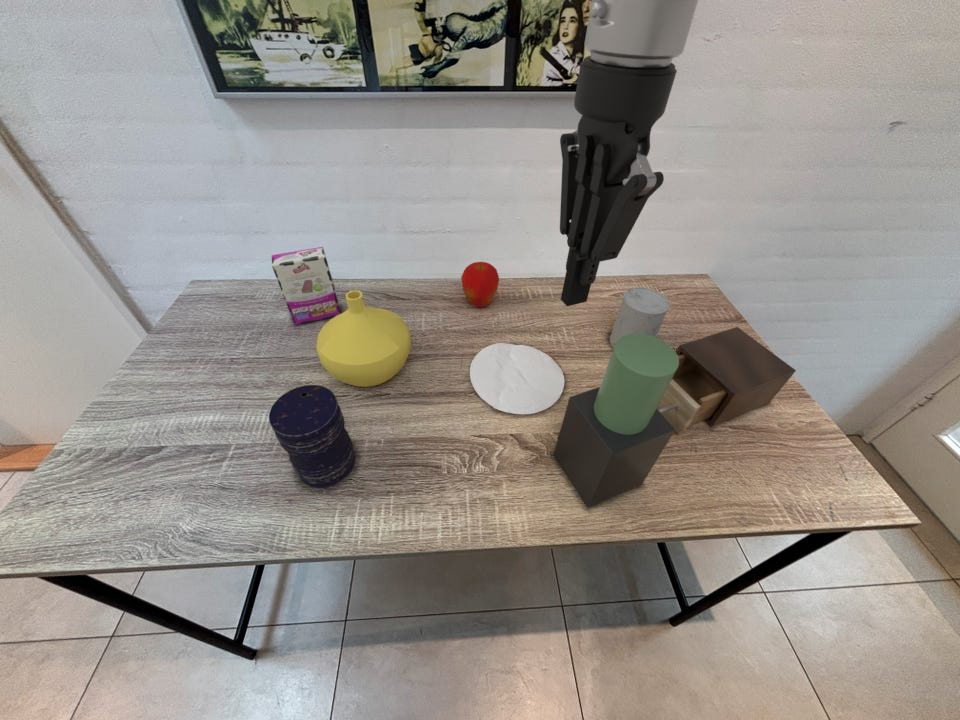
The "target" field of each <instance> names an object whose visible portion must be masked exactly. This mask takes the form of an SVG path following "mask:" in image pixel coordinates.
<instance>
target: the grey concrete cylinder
mask: <svg viewBox="0 0 960 720" xmlns="http://www.w3.org/2000/svg"><path fill="white" fill-rule="evenodd" d="M670 303H671V302H670V301H669V299H668V297H666V295H664V294H663V293H661V292H660V291H658V290H656V289H652V288H649V287H643V286H642V287H641V286H639V287H638V286H637V287H632V288H629V289H627V290H626V291H625V292H624V294H623V297H622V300H621V303H620V306H619V309H618V313H617V315H616V319H615V321H614V325H613V328H612V331H611V334H610V335H609V344H610V346H611V347H612V348H613V349H614V346H615V343H616V342H617V341H618V339H620V338H621V337H623V336H625V335H629V334H646V335H650V336H653V337H656V338H657V336H658V334H659V332H660V329H661V326H662V324H663V321H664V320H665V317H666V315H667V313H668V311H669V309H670V306H671V304H670Z"/></svg>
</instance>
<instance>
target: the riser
mask: <svg viewBox="0 0 960 720" xmlns="http://www.w3.org/2000/svg"><path fill="white" fill-rule="evenodd" d="M599 389H600V386H598V387H595V388H593V389H590V390H586V391H583V392H580V393H577V394H573V395H571V396H569V398H568V401H567V403H566V404H567V405H566V407H565V408H566V409H565V411H564V416H563V419H562V423H561V426H560V430H559V433H558V437H557V441H556V443H555V444H556V445H555V448H554V451H553V456H554V459H556V461H557V463H558V464H559V466H560V467H561V469H562V470H563V472H564V474H565V475H566V476H567V478H568V480H569V482H570V483H571V485H573V487H574V489H575V491H576V492H577V494H578V495H579V497H580V498H581V501H583V503H584V505H585V507H586V508H587V509H590V508H592V507H594V506H595V507H596V506H597V505H599V504H602V503H604V502H606V501H608V500H611V499H613V498H615V497H618V496H619V495H622V494H625V493H626V492H629V491H631V490H633V489H636V488H638V487H640V486H642V485H643V483H644V482H645V480H646V478H647V477H648V475H649V474H650V472H651V470H652V469H653V467H654V466H655V464H656V462H657V460H658V459H659V457H660V456H661V454H662V452H664V449H665V448H666V446H667V444H668V443H669V441H670V440H671V438H672V436H673V435H674V433H675V432H676V431H675V428H674V427H673V426H672V425H671V424H670V423H669V422H668V421H667V420H666V418H665V417H664V416H663V415H662V414H661V413H660V412H659V411H658V410H657V409H656V410H655V412H654V414H653V416H652V418H651V420H650V422H649V424H648V426H647V427H646V428H645V429H644V430H643V431H642V432H640V433H637V434H632V435H624V434H619V433H616V432H613V431H611V430H609V429H608V428H606V427H605V426H604V425H602V424H601V423H600V421H599V420H598V419H597V417H596V415H595V413H594V403H595V400H596V397H597V394H598V392H599Z"/></svg>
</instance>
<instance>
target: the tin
mask: <svg viewBox="0 0 960 720" xmlns="http://www.w3.org/2000/svg"><path fill="white" fill-rule="evenodd" d="M678 366H679V358H678V355H677V353H676V350H675V349H674V348H673V347H672V346H671V345H669V343H668V342H666V341H665V340H662V339H660V338H658V337H657V336H656V337H653V336H650V335H646V334H629V335H625V336H623V337H621V338H620V339H618V341H617V342H616V343H615V346H614V348H613V349H612V351H611V355H610V358H609V360H608V363H607V366H606V368H605V372H604V375H603V377H602V380H601V383H600V386H599V387H600V389H599V392H598V394H597V397H596V400H595V403H594V413H595V415H596V417H597V419H598V420H599V421H600V423H601V424H602V425H604V426H605V427H606V428H608V429H609V430H611V431H613V432H616V433H619V434H624V435H632V434H637V433H640V432H642V431H643V430H644V429H645V428H646V427H647V426H648V424H649V422H650V420H651V418H652V416H653V414H654V412H655V410H656V408H657V406H658V405H659V403H660V401H661V399H662V397H663V395H664V393H665V391H666V389H667V387H668V385H669V384H670V382H671V380H672V378H673V376H674V374H675V372H676V370H677V368H678Z"/></svg>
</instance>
